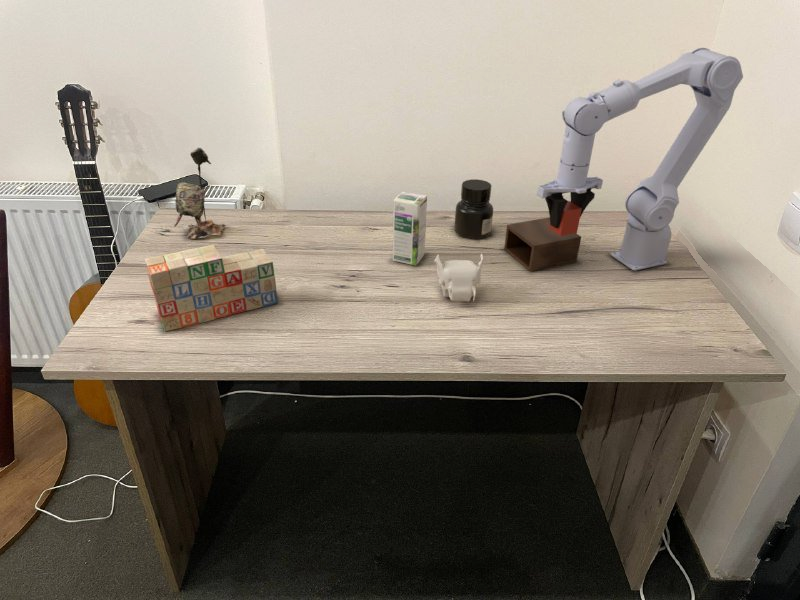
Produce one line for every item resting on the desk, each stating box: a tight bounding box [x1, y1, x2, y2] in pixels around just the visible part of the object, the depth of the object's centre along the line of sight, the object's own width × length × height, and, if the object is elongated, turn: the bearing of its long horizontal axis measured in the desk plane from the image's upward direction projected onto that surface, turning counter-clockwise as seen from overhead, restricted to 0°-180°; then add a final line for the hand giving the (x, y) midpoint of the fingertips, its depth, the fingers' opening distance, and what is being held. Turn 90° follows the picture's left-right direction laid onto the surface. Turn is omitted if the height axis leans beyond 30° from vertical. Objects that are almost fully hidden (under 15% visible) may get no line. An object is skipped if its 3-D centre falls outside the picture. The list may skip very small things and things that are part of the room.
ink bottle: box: [453, 178, 494, 240], centre depth 142 cm, size 10×9×12 cm
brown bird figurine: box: [173, 147, 227, 240], centre depth 137 cm, size 8×11×20 cm
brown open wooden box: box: [503, 216, 582, 272], centre depth 133 cm, size 12×11×6 cm
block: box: [549, 200, 582, 236], centre depth 125 cm, size 4×4×6 cm
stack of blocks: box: [144, 244, 279, 332], centre depth 111 cm, size 21×6×12 cm, turn 117°
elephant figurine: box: [433, 253, 484, 302], centre depth 118 cm, size 10×12×9 cm
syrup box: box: [392, 191, 428, 266], centre depth 129 cm, size 6×6×14 cm
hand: (563, 224), depth 126 cm, fingers closed on block, 4 cm apart
